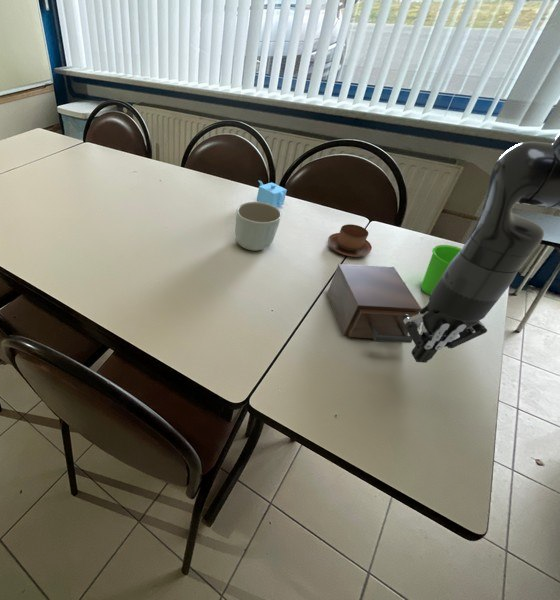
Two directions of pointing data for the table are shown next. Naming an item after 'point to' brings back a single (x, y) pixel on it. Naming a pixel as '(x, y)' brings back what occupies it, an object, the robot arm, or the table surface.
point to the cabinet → (367, 292)
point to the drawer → (380, 325)
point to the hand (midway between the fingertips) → (418, 358)
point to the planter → (256, 225)
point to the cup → (438, 266)
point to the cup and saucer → (350, 241)
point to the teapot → (271, 194)
